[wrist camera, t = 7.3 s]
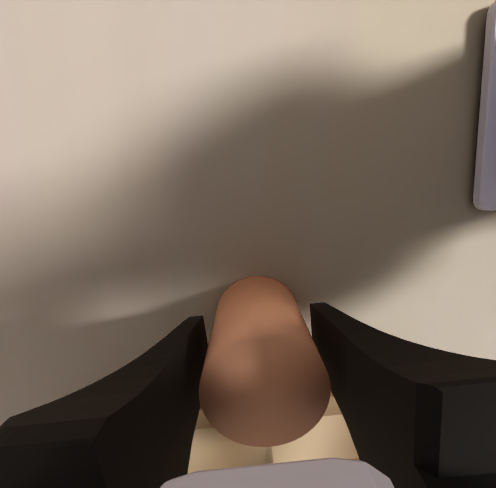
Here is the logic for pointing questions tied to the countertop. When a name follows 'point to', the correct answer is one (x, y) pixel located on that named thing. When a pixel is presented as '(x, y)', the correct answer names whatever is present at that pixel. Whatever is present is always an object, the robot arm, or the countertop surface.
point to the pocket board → (304, 448)
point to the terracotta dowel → (262, 367)
